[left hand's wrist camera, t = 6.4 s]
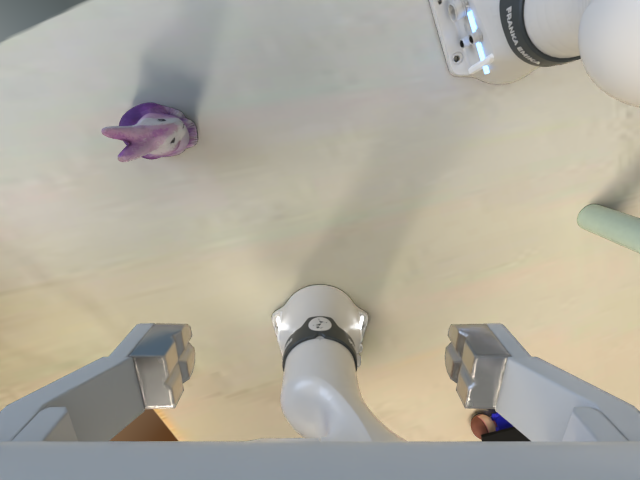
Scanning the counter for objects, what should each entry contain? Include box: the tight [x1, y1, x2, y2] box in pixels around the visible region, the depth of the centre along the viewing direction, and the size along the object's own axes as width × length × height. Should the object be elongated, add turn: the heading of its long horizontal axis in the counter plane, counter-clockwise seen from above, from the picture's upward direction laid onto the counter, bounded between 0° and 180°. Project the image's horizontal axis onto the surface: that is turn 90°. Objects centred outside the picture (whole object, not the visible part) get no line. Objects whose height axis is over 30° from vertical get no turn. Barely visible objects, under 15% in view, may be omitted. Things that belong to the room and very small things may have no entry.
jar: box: [577, 204, 640, 253], centre depth 52 cm, size 5×5×14 cm
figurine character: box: [471, 413, 530, 441], centre depth 72 cm, size 7×8×15 cm
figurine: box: [102, 103, 198, 162], centre depth 47 cm, size 9×10×15 cm
